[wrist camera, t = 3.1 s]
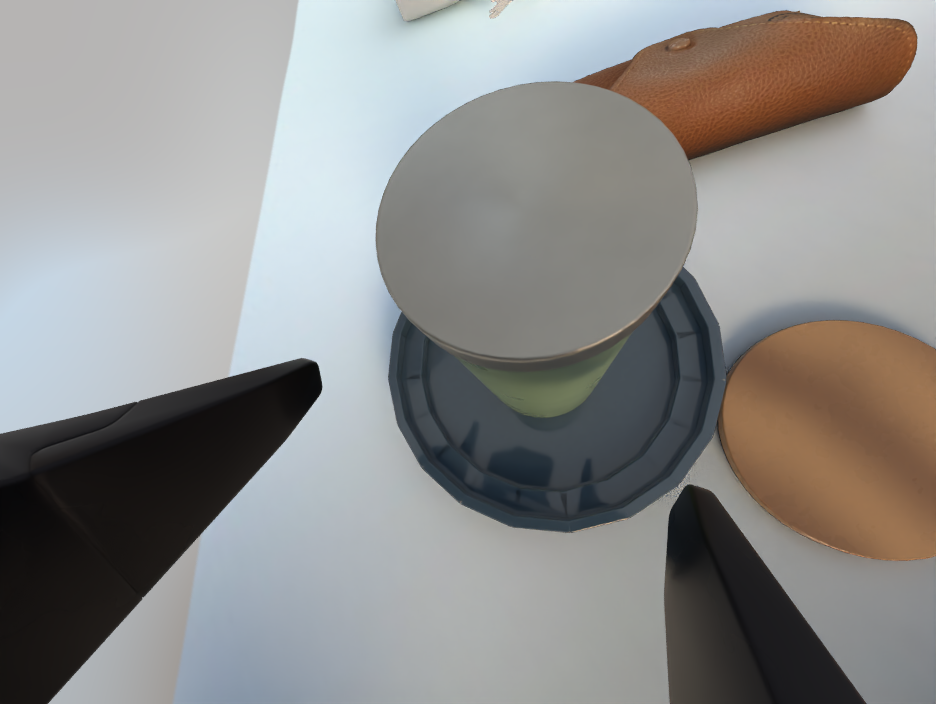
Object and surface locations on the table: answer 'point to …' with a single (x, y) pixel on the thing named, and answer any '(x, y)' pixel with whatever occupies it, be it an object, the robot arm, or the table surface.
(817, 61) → the sunglasses case
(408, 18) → the woman figurine
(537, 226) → the tea tin
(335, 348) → the table surface
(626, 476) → the plate
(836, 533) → the coaster
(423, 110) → the table surface
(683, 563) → the robot arm
